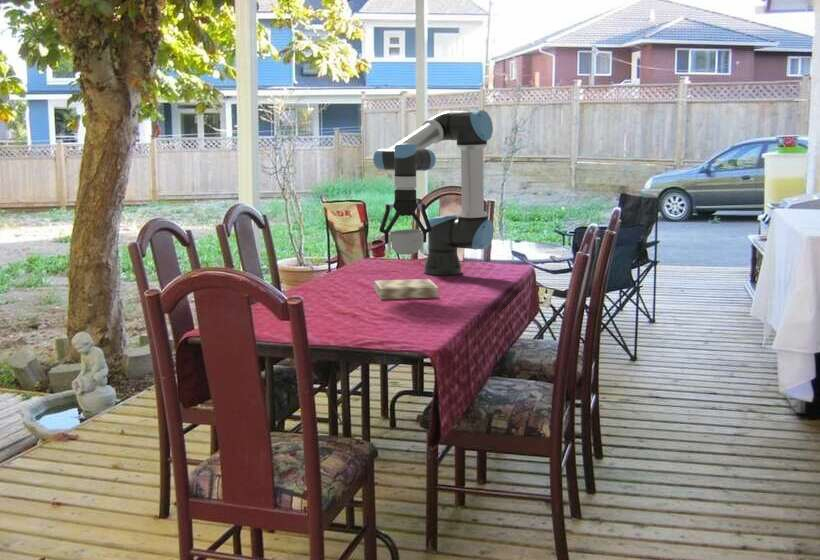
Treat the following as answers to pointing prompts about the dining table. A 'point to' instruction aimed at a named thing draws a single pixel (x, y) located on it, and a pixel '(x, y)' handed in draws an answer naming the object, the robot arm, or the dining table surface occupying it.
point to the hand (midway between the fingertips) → (405, 252)
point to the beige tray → (406, 289)
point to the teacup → (406, 241)
